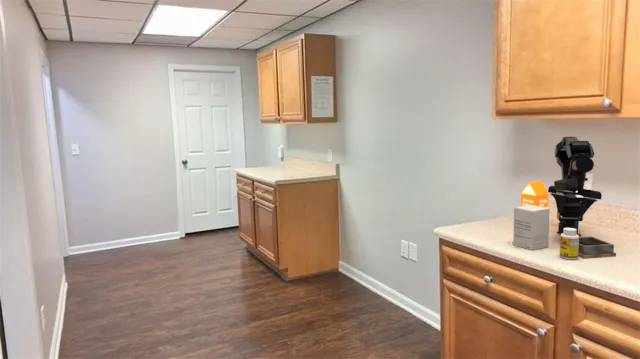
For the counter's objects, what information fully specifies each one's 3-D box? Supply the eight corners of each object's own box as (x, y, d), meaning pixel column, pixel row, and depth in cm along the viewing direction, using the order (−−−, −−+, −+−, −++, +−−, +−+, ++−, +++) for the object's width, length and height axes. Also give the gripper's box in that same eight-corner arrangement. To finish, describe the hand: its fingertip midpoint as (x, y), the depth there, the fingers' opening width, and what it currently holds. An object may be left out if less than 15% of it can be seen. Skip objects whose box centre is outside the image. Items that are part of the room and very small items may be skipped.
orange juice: (519, 224, 201) (520, 181, 198) (532, 222, 205) (533, 179, 202) (535, 228, 194) (536, 183, 191) (548, 225, 198) (549, 181, 195)
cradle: (591, 246, 165) (591, 236, 165) (615, 256, 153) (616, 245, 153) (561, 248, 164) (561, 238, 163) (583, 258, 152) (584, 247, 151)
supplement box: (529, 241, 174) (530, 204, 172) (549, 247, 166) (550, 208, 164) (512, 244, 171) (513, 206, 169) (531, 250, 163) (533, 210, 161)
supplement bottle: (556, 255, 156) (557, 227, 155) (572, 254, 156) (573, 226, 155) (565, 260, 151) (566, 231, 149) (581, 259, 151) (582, 230, 149)
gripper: (540, 169, 172) (533, 208, 172) (583, 172, 154) (575, 216, 155) (562, 173, 176) (555, 212, 176) (606, 177, 158) (598, 220, 158)
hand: (569, 214), depth 166 cm, fingers open, 9 cm apart
